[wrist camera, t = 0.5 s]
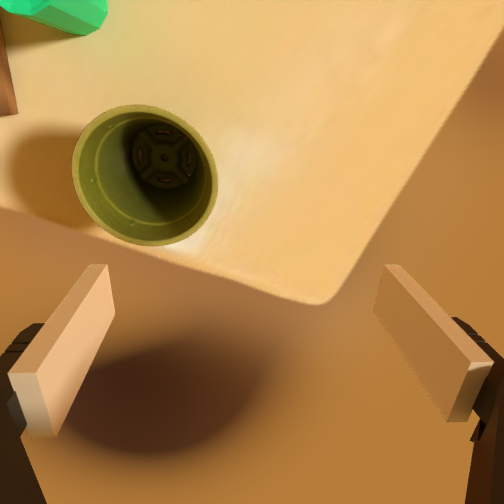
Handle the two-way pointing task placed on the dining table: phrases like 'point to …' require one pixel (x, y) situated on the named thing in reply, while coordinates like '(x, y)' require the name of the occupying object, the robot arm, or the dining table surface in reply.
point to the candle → (61, 13)
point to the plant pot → (144, 175)
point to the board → (6, 82)
